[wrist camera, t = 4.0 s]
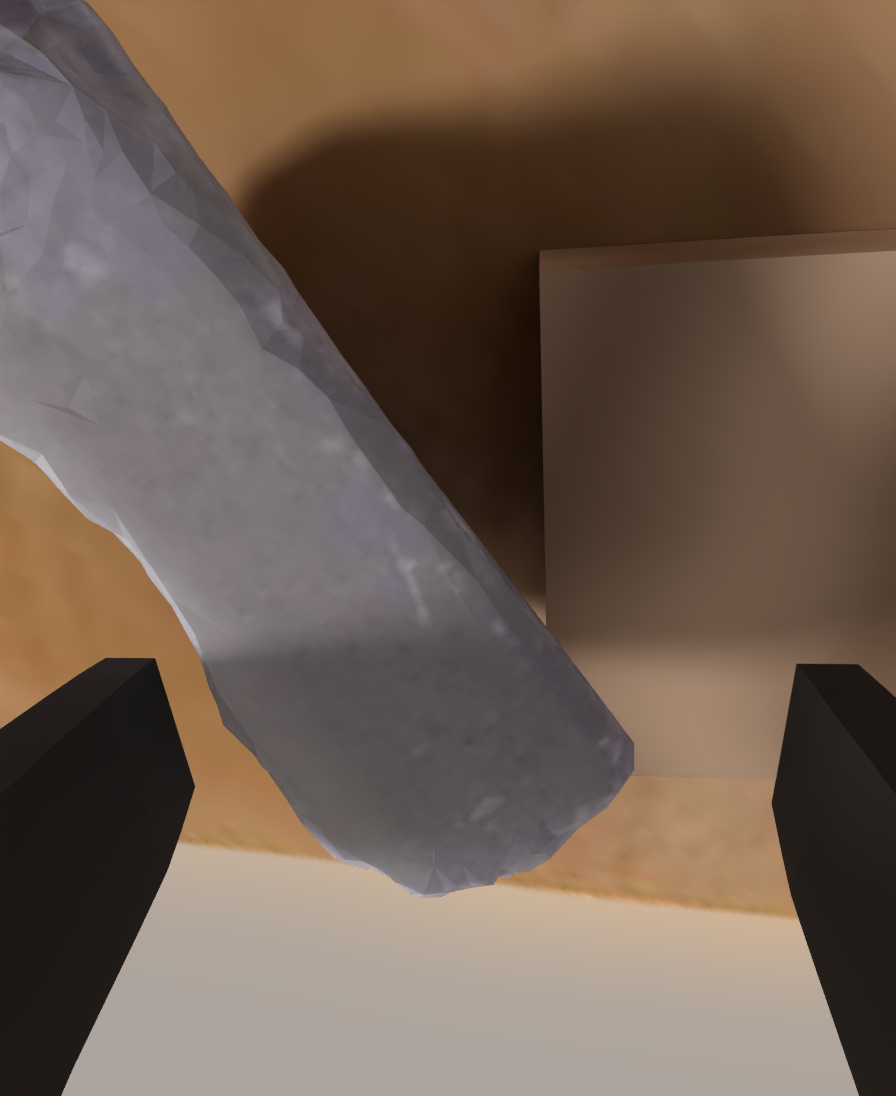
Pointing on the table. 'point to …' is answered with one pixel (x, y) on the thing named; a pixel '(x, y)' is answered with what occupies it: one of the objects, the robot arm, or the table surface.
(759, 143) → the table surface
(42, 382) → the stone block
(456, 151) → the table surface
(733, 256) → the walnut base
